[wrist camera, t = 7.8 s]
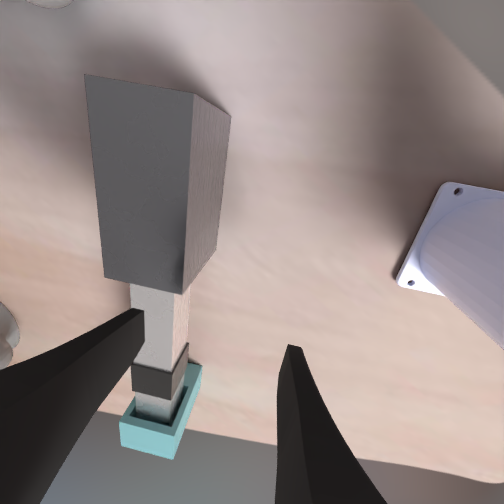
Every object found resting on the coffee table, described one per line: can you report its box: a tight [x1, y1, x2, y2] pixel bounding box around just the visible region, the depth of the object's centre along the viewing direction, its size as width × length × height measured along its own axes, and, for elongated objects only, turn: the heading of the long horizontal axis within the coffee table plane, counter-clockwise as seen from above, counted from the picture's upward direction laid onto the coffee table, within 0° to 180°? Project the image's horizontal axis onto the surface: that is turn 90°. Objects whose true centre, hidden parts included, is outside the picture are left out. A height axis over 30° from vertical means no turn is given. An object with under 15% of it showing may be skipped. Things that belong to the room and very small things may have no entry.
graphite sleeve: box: [84, 74, 231, 295], centre depth 15 cm, size 5×10×7 cm, turn 170°
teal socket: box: [119, 362, 202, 460], centre depth 23 cm, size 5×4×7 cm
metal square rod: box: [130, 283, 191, 427], centre depth 18 cm, size 3×20×3 cm, turn 170°
